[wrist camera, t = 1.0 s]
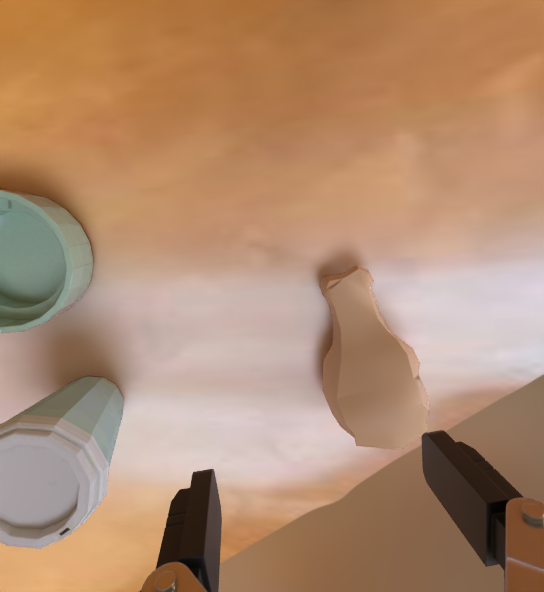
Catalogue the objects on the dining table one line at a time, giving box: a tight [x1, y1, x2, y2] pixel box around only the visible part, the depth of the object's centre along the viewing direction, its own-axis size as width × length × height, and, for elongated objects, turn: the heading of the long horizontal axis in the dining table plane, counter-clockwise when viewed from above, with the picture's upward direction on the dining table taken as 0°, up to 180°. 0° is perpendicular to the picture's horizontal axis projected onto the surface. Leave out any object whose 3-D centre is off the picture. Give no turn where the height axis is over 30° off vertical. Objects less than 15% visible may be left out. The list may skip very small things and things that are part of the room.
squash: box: [320, 265, 429, 449], centre depth 40 cm, size 11×20×9 cm, turn 19°
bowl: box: [0, 189, 93, 333], centre depth 35 cm, size 13×13×6 cm
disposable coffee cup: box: [0, 376, 124, 549], centre depth 34 cm, size 11×11×15 cm
